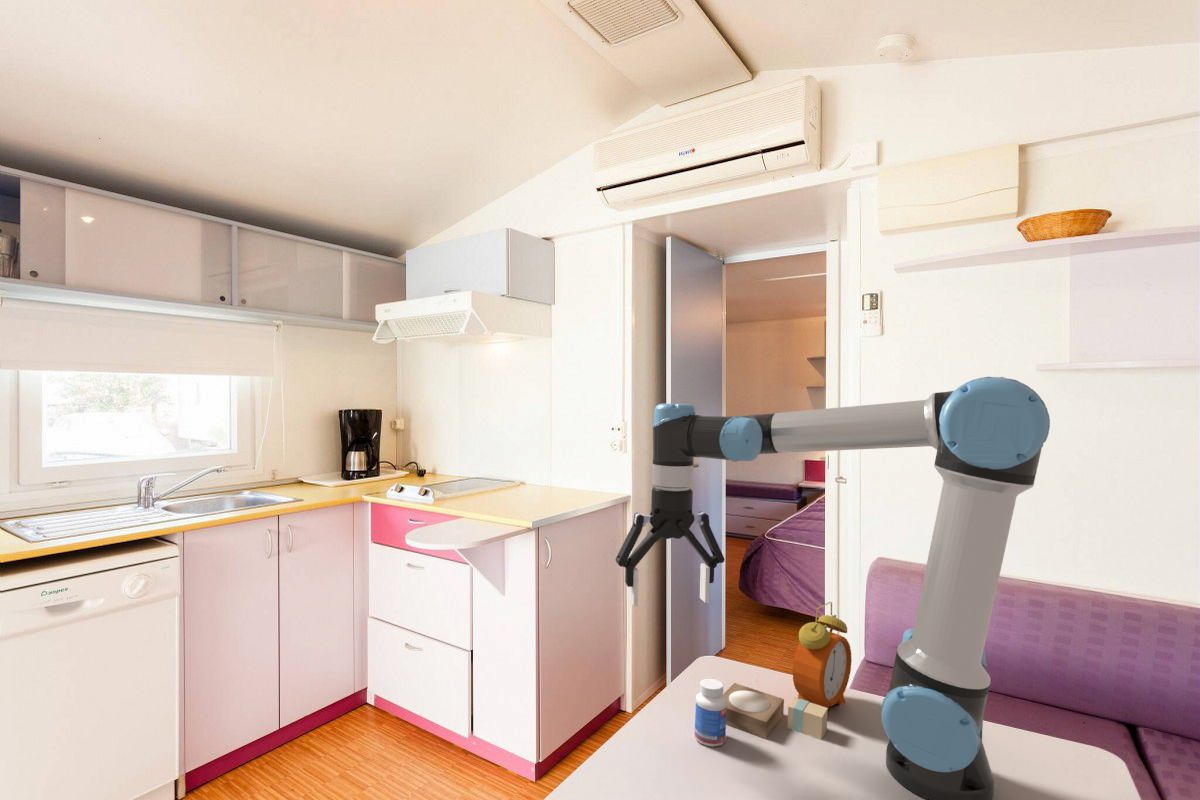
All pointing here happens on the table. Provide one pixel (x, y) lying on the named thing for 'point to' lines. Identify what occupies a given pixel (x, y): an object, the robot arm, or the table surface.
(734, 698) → the podium
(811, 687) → the alarm clock
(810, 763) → the table surface
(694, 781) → the table surface
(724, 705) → the pill bottle
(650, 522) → the robot arm
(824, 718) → the carton
